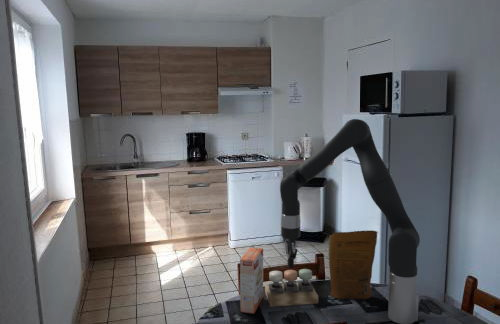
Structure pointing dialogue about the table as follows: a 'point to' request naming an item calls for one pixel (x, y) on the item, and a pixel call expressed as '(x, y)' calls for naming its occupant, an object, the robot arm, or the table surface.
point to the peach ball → (290, 276)
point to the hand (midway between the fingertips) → (290, 266)
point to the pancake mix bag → (351, 263)
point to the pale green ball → (305, 275)
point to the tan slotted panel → (291, 294)
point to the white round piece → (276, 277)
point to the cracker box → (251, 280)
